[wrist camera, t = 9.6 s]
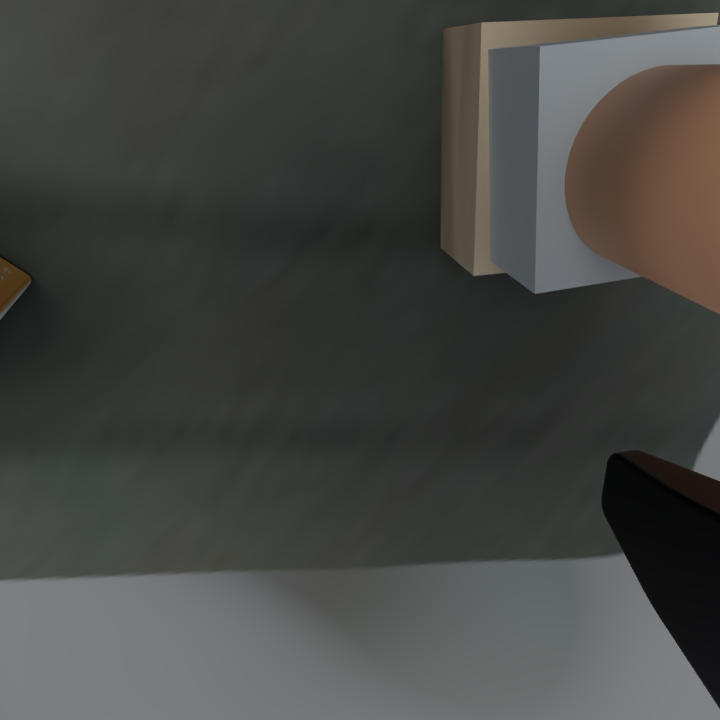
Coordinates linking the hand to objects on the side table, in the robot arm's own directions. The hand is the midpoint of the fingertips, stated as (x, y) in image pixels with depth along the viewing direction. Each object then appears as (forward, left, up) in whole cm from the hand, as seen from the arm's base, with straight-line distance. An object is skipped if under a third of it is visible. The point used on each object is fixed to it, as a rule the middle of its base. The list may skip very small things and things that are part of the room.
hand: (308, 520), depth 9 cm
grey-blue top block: (+5, +8, -10) cm, 14 cm away
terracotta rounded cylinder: (+6, +8, -7) cm, 12 cm away
